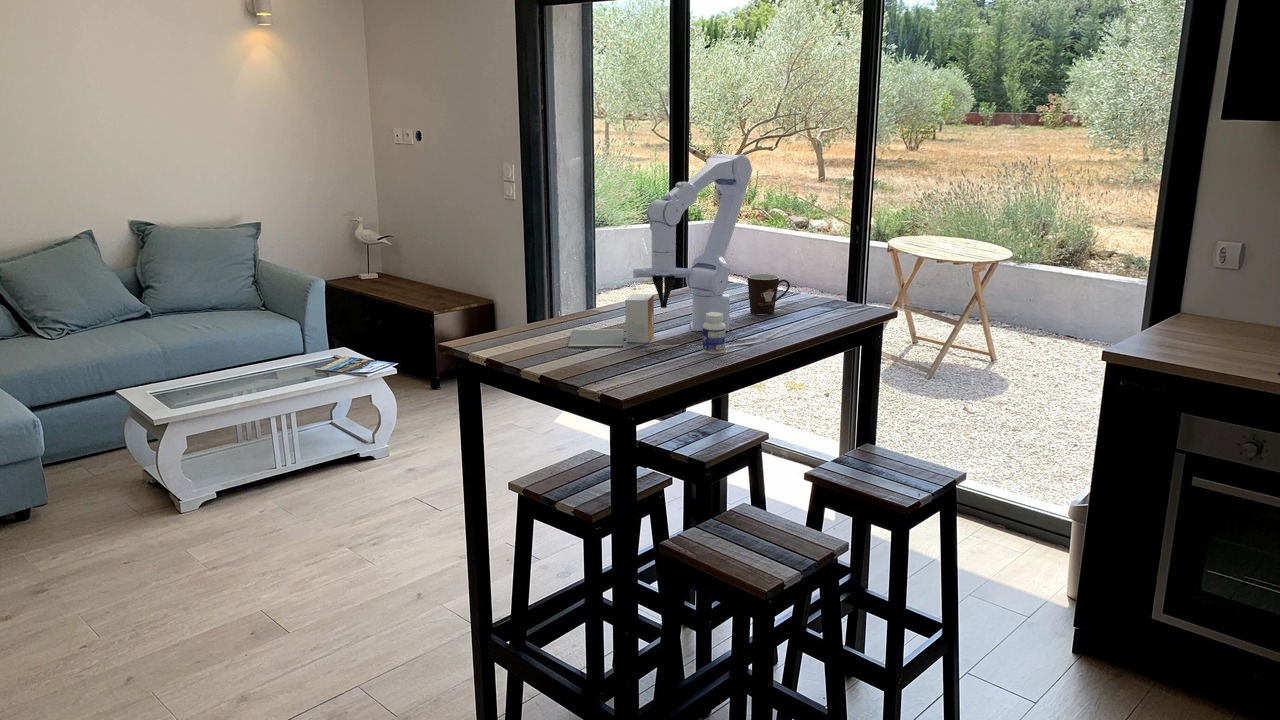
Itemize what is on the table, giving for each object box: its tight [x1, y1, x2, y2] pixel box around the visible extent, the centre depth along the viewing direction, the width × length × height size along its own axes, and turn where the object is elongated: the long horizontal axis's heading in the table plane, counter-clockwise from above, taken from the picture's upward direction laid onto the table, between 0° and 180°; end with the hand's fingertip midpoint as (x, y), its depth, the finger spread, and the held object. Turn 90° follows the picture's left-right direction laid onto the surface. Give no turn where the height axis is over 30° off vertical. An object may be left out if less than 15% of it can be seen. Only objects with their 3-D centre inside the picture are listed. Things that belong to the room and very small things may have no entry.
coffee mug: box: [746, 273, 791, 315], centre depth 251 cm, size 12×9×10 cm
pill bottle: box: [702, 312, 727, 355], centre depth 213 cm, size 5×5×9 cm
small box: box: [624, 293, 655, 344], centre depth 224 cm, size 8×6×10 cm
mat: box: [567, 328, 625, 349], centre depth 225 cm, size 13×16×1 cm
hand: (663, 307), depth 223 cm, fingers closed
